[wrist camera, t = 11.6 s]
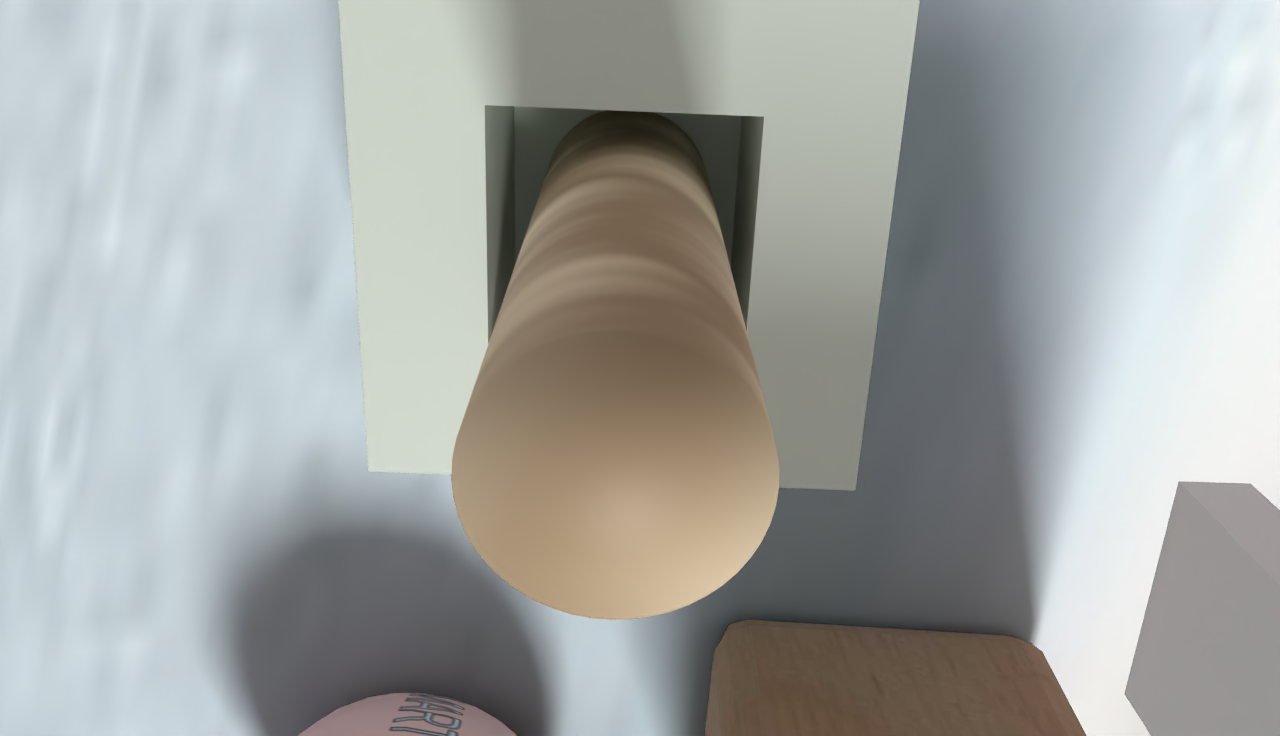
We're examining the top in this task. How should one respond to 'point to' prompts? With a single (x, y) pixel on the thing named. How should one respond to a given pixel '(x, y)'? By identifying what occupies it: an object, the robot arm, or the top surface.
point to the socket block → (623, 81)
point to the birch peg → (618, 389)
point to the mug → (408, 718)
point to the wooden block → (881, 683)
